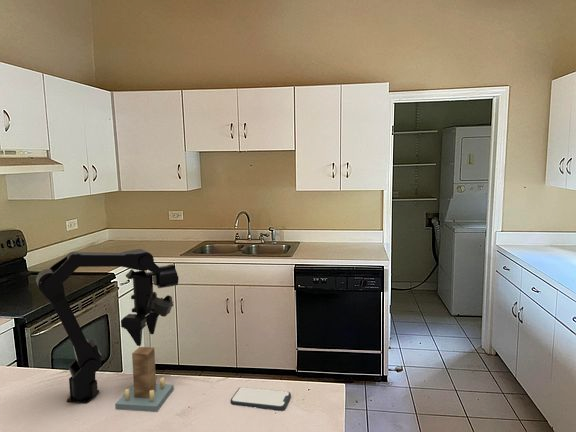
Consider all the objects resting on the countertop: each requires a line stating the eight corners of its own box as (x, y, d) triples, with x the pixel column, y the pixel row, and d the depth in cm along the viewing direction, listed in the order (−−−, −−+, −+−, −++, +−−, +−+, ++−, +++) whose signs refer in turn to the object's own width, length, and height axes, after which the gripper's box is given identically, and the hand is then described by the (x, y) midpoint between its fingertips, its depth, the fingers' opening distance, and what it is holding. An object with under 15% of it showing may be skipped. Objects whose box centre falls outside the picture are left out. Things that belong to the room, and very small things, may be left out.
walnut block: (134, 397, 124) (132, 353, 122) (141, 389, 128) (139, 346, 127) (149, 398, 123) (147, 354, 122) (156, 390, 128) (154, 347, 126)
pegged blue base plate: (115, 409, 121) (114, 393, 120) (135, 387, 133) (134, 373, 132) (157, 411, 119) (156, 395, 119) (173, 389, 131) (173, 375, 131)
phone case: (229, 406, 123) (284, 412, 119) (228, 401, 123) (284, 407, 119) (240, 391, 131) (291, 396, 127) (239, 386, 131) (291, 391, 127)
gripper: (155, 300, 124) (158, 353, 126) (179, 283, 142) (181, 329, 144) (118, 299, 125) (121, 351, 127) (147, 282, 144) (149, 328, 146)
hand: (145, 339), depth 136 cm, fingers open, 9 cm apart
